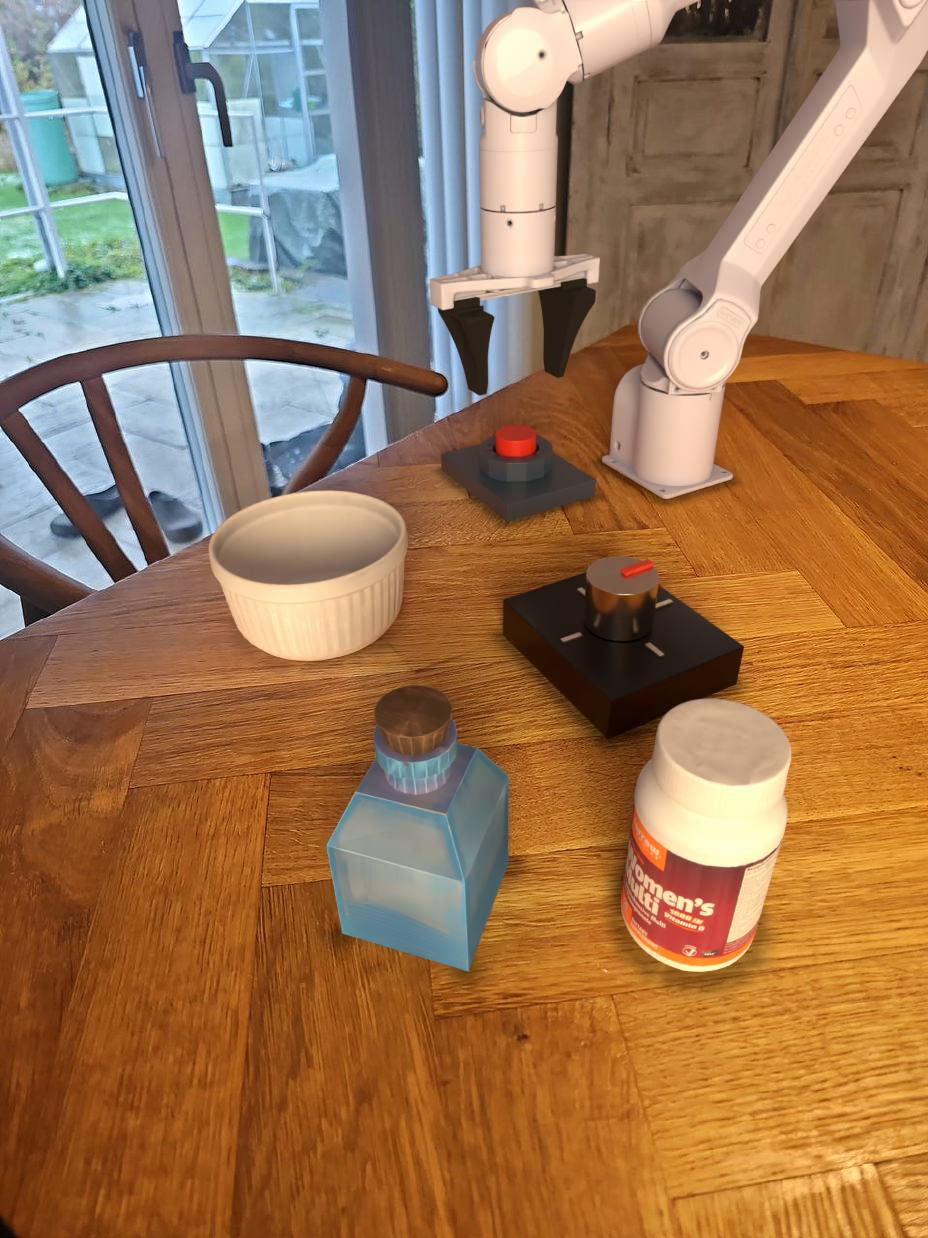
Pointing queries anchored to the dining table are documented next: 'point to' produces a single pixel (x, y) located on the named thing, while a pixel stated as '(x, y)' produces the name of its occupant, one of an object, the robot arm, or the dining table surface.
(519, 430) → the button
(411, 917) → the perfume bottle
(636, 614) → the dial
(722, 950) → the pill bottle
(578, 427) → the dining table surface
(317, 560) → the ramekin
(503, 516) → the button block
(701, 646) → the panel
